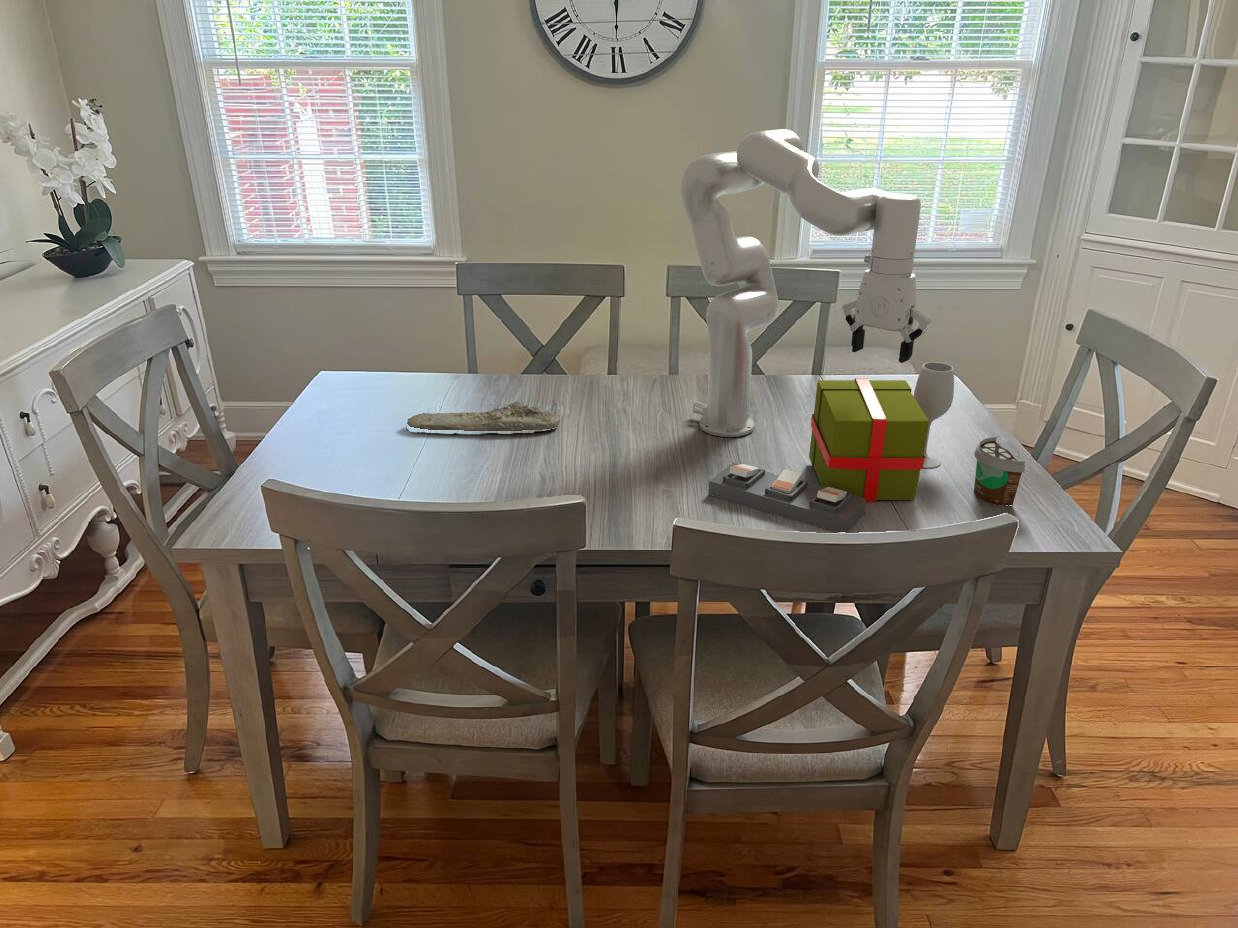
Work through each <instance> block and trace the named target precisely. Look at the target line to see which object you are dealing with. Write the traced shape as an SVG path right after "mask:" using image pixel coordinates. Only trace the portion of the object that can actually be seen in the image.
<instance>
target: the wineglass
mask: <svg viewBox="0 0 1238 928" xmlns="http://www.w3.org/2000/svg"><path fill="white" fill-rule="evenodd" d="M915 384H916V385H915V388H914V391H913V396H914V398H915V400H916V401H917V403H918V404H919V406H920V407H921V409H922V411H923V412H924V414H925V415H926V417H927V418H928V420H929V426H928V432H927V437H926V443H925V448H924V453H923V454H924V456H925V460H924V464H923V469H935V468H938V467H940V466H941V464H942V462H941V460H940V458H938V457H936V456H935V455H932V454H929V453H928V452H927V447H928V441H929V436H930V431H931V425H932V423H933V422H934V421H936V420H937V419H939V418H941V417H942V416H944V415H945V414H947V412H948V411H949V409H951V407H952V404H953V400H954V394H955V371H954V366H952V365H951V364H948V363H945V362H939V361H930V362H925V363H923V364H922V366H921V369H920V371H919V375H918V377H917V380H916V383H915Z"/></svg>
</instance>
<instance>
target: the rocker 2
mask: <svg viewBox="0 0 1238 928" xmlns="http://www.w3.org/2000/svg"><path fill="white" fill-rule="evenodd" d="M779 475H780V476H779V477H778V478H777V480H776V481H775V482H774V484H773V485H772V489H773V490H776V491H780V492H784V493H787V494H791V493H792V492H793V490H794V489H795V488H796V486H797V485H798V483H799V482H800V480H803V473H802V472H797V471H794V470H790V469H787V468H784V469H783V470H782V471H781V473H780V474H779Z"/></svg>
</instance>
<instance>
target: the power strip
mask: <svg viewBox="0 0 1238 928" xmlns="http://www.w3.org/2000/svg"><path fill="white" fill-rule="evenodd" d="M740 464H742V462H741V463H736V462H732V463H730V464H729V465H728V466H727V467H725V468H724V469H723V470H721V471H720V472H719V473H718V474H716V475H715V476H714V477H712V478H711V479H709V480H708V494H709V496H711V495H713V497H715V498H719V499H721V500H722V499H723V500H726V501H727V502H728V501H729V502H732V503H734V504H739V505H741V506H746V507H749V508H753V509H755V510H759V511H762V512H767V513H770V514H772V515H776V516H779V517H783V518H787V519H790V520H794V521H796V522H799V523H803V524H807V525H809V526H813V527H817V528H820V529H824V530H827V531H830V532H834V533H837V532H847V533H849V531H850V530H851V529H852V528H853V527H854V526H855V524H856V523H857V522H858V521H859V520H860V519H861V518H862V516H864V514H866V507H867V502H866V500H867V499H866V498H862V497H858V496H855V495H853V493H849V492H847V494H846V498H844V499H842V500H840V501H837V502H832V501H829V500H825V499H822V498H818V497H817V493H818V491H819V490H821V489H824V488H827V486H825V487H821V485H818V484H813V483H809V482H808V480H805V479H801V480H800V482H799V483H798V485H797V486H796V488H795V489H794V490H793V492H792V493H791V494H787V493H784V492H780V491H776V490H773V489H772V485H773V484H774V482H775V481H776V480H777V478H778V477H779V476H780V474H776V473H773V472H769V471H766V470H765V469H763V468H760V467H758V468H759V472H758V474H756V475H753V476H750V477H742V476H739V475H735V474H731V473H729V472H730V467H732V466H735V465H740Z"/></svg>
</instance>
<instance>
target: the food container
mask: <svg viewBox="0 0 1238 928" xmlns="http://www.w3.org/2000/svg"><path fill="white" fill-rule="evenodd" d="M997 438H998V437H997V436H991V437H987V438H984V439H981V440H980V441H979V443H978V444H977V445H976V448H975V450H974V452H973V455H974V457H975V459H976V467H975V476H974V486H973V487H974V488H973V494H974V496H975V497H977V499H979V500H981V501H983V502H984V503H987V502H988V503H987V504H990V503H991V504H990V505H994V504H995V506H998V505H1004V506H1003V507H1006V506H1005V505H1008V506H1009V505H1012V506H1014V502H1015V498H1016V494H1017V491H1018V488H1019V484H1020V481H1021V477H1022V474H1023V473H1025V467H1026V464H1025V463H1026V461H1025V460H1017V459H1016V458H1015V456H1014V455H1013V454H1012V453H1011V452H1010V450H1008V449H1006V448H1004V447H1002V446H1001V445H1000V444H999V443H998V442H997ZM1008 506H1007V507H1008ZM1009 507H1010V506H1009Z"/></svg>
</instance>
